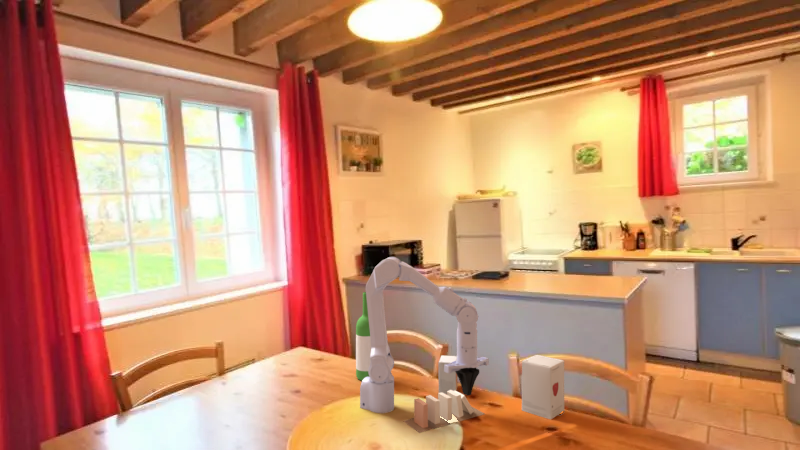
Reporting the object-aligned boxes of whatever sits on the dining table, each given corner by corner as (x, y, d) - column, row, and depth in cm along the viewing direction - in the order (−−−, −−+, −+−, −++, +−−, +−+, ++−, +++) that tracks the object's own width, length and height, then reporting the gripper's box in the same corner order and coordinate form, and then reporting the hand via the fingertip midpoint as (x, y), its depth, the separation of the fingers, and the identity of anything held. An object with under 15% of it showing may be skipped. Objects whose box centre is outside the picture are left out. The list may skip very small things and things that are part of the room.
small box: (456, 397, 137) (456, 363, 137) (438, 395, 138) (438, 362, 138) (458, 387, 144) (458, 355, 145) (441, 386, 146) (441, 354, 146)
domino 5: (470, 414, 122) (461, 398, 120) (460, 408, 126) (451, 393, 124) (473, 410, 122) (464, 395, 121) (463, 405, 126) (454, 390, 125)
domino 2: (435, 424, 116) (435, 401, 116) (426, 418, 119) (425, 396, 120) (439, 423, 116) (439, 400, 116) (430, 417, 120) (430, 395, 120)
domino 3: (447, 420, 118) (447, 398, 118) (438, 414, 122) (438, 393, 122) (451, 419, 118) (451, 397, 118) (442, 413, 122) (442, 392, 122)
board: (419, 435, 111) (419, 432, 111) (402, 423, 118) (402, 420, 118) (485, 416, 122) (485, 413, 122) (466, 406, 129) (466, 404, 129)
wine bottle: (353, 376, 156) (352, 291, 156) (373, 373, 159) (373, 290, 159) (360, 383, 149) (360, 294, 149) (381, 379, 152) (381, 293, 152)
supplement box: (551, 422, 118) (551, 367, 118) (521, 413, 125) (520, 360, 125) (565, 412, 125) (565, 359, 125) (536, 403, 131) (535, 353, 131)
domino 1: (423, 428, 113) (423, 405, 113) (414, 421, 117) (414, 399, 117) (427, 427, 114) (427, 403, 114) (418, 420, 118) (418, 398, 118)
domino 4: (459, 417, 120) (456, 396, 119) (449, 411, 124) (446, 391, 123) (463, 415, 120) (460, 394, 120) (453, 410, 124) (450, 389, 124)
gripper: (455, 353, 117) (455, 404, 117) (496, 345, 124) (496, 393, 124) (439, 347, 123) (439, 395, 123) (479, 340, 130) (479, 386, 130)
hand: (467, 394), depth 124 cm, fingers closed
